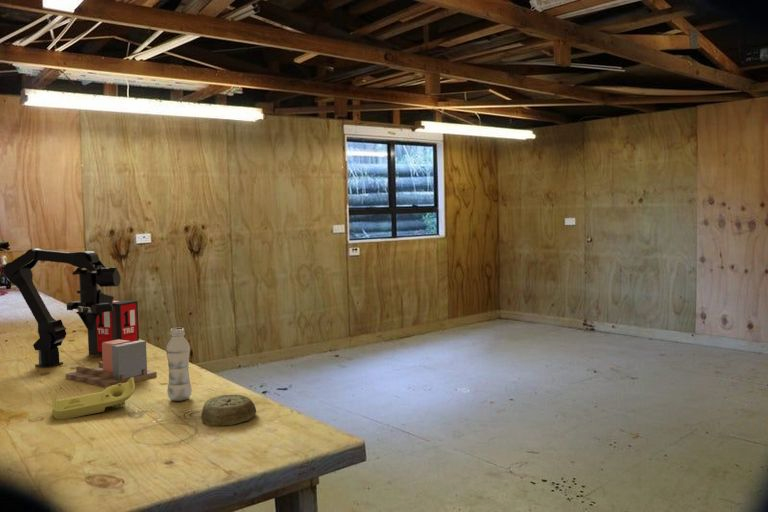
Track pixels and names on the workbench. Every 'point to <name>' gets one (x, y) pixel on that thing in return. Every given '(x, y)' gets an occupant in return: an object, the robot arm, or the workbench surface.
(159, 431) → the workbench surface
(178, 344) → the plastic bottle
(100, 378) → the wooden pallet
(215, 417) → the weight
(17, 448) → the workbench surface
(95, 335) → the cleaning product box
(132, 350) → the end stop
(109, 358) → the pink rectangular block
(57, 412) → the plastic component
